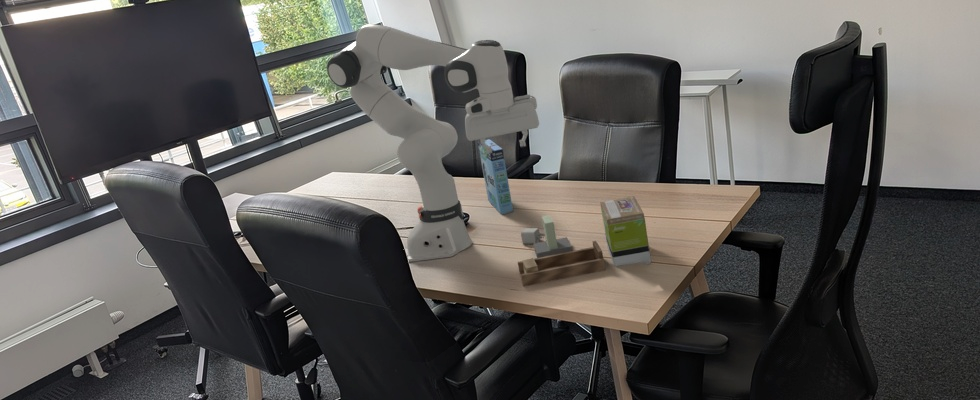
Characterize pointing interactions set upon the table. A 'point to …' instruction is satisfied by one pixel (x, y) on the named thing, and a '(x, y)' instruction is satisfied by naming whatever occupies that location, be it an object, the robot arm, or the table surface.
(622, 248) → the tea box
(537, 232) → the usb wall charger
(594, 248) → the rack
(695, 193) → the table surface
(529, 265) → the offcut top
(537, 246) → the riser
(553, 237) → the tall board
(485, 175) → the blue cardboard box
